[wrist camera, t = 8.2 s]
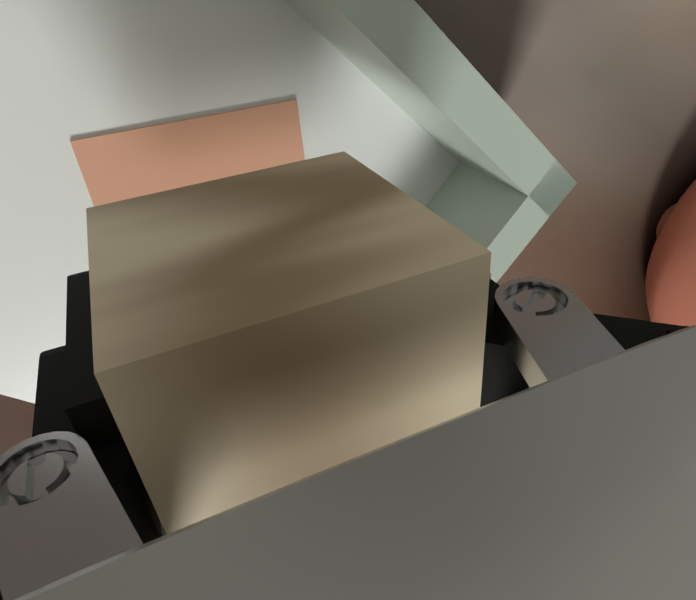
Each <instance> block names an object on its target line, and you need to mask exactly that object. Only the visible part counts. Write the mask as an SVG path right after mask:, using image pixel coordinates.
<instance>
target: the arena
mask: <svg viewBox="0 0 696 600" xmlns="http://www.w3.org/2000/svg"><path fill="white" fill-rule="evenodd" d="M343 151H344V152H346V153H347V154H349V155H350V156H352V157H353V158H355V159H356V160H358V161H359V162H361V163H362V164H363V165H365V166H366V167H368V168H369V169H371V170H372V171H374V172H375V173H377V174H378V175H380V176H381V177H383V178H384V179H385V180H387V181H388V182H390V183H391V184H393V185H394V186H396V187H397V188H399V189H400V190H402V191H403V192H404V193H406V194H407V195H409V196H410V197H412V198H413V199H415V200H416V201H418V202H419V203H421V204H422V205H424V206H425V207H426V208H428V209H429V210H431V211H432V212H434V213H435V214H437V215H438V216H440V217H441V218H443V219H444V220H445V221H447V222H448V223H450V224H451V225H453V226H454V227H456V228H457V229H459V230H460V231H462V232H463V233H465V234H466V235H467V236H469V237H470V238H472V239H473V240H475V241H476V242H478V243H479V244H481V245H482V246H484V247H485V248H486V249H488V250H489V251H491V252H492V253H491V266H490V273H491V278H490V279H492V280H493V281H494V282H496V283H497V281H498V280H499V279H500V278H501V276H502V275H503V274H504V273H505V271H506V270H507V269H508V268H509V266H510V265H511V264H512V263H513V261H514V260H515V259H516V258H517V257H518V255H519V254H520V253H521V252H522V250H523V249H524V248H525V247H526V245H527V244H528V243H529V242H530V240H531V239H532V238H533V237H534V235H535V234H536V233H537V232H538V230H539V229H540V228H541V227H542V225H543V224H544V223H545V222H546V220H547V219H548V218H549V217H550V215H551V214H552V213H553V212H554V210H555V209H556V208H557V207H558V205H559V204H560V203H561V202H562V200H563V199H564V198H565V197H566V195H567V194H568V193H569V192H570V190H571V189H572V188H573V187H574V186H575V184H576V182H575V180H574V179H573V178H572V177H571V176H570V175H569V174H568V173H567V171H566V170H565V169H564V168H563V167H562V166H561V165H560V164H559V162H558V161H557V160H556V159H555V158H554V157H553V156H552V155H551V153H550V152H549V151H548V150H547V149H546V148H545V147H544V145H543V144H542V143H541V142H540V141H539V140H538V139H537V138H536V136H535V135H534V134H533V133H532V132H531V131H530V130H529V129H528V127H527V126H526V125H525V124H524V123H523V122H522V121H521V120H520V118H519V117H518V116H517V115H516V114H515V113H514V112H513V111H512V109H511V108H510V107H509V106H508V105H507V104H506V103H505V102H504V100H503V99H502V98H501V97H500V96H499V95H498V94H497V93H496V91H495V90H494V89H493V88H492V87H491V86H490V85H489V84H488V82H487V81H486V80H485V79H484V78H483V77H482V76H481V75H480V73H479V72H478V71H477V70H476V69H475V68H474V67H473V66H472V64H471V63H470V62H469V61H468V60H467V59H466V58H465V57H464V55H463V54H462V53H461V52H460V51H459V50H458V49H457V48H456V46H455V45H454V44H453V43H452V42H451V41H450V40H449V39H448V37H447V36H446V35H445V34H444V33H443V32H442V31H441V30H440V28H439V27H438V26H437V25H436V24H435V23H434V22H433V21H432V19H431V18H430V17H429V16H428V15H427V14H426V13H425V12H424V10H423V9H422V8H421V7H420V6H419V5H418V4H417V2H416V1H415V0H0V394H2V395H5V396H9V397H13V398H17V399H20V400H24V401H28V402H32V403H35V399H36V388H37V376H38V365H39V357H40V353H41V352H43V351H47V350H50V349H54V348H57V347H61V346H64V345H66V304H67V276H69V275H73V274H77V273H81V272H85V271H88V270H89V261H88V240H87V218H86V208H90V207H94V206H99V205H103V204H108V203H112V202H117V201H121V200H126V199H130V198H135V197H139V196H144V195H148V194H153V193H157V192H162V191H166V190H171V189H176V188H180V187H185V186H189V185H194V184H198V183H203V182H207V181H212V180H216V179H221V178H225V177H230V176H234V175H239V174H243V173H248V172H252V171H257V170H261V169H266V168H270V167H275V166H280V165H284V164H289V163H293V162H298V161H302V160H307V159H311V158H316V157H320V156H325V155H329V154H334V153H338V152H343Z"/></svg>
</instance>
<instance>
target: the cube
mask: <svg viewBox="0 0 696 600" xmlns="http://www.w3.org/2000/svg"><path fill="white" fill-rule="evenodd" d="M86 218H87V240H88V261H89V282H90V303H91V324H92V345H93V366H94V375H95V377H96V379H97V382H98V384H99V386H100V388H101V391H102V393H103V395H104V397H105V399H106V402H107V404H108V406H109V408H110V410H111V413H112V415H113V417H114V419H115V422H116V424H117V426H118V428H119V430H120V433H121V435H122V437H123V439H124V441H125V444H126V446H127V448H128V450H129V453H130V455H131V457H132V459H133V461H134V464H135V466H136V468H137V470H138V472H139V475H140V477H141V479H142V481H143V484H144V486H145V488H146V490H147V492H148V495H149V497H150V499H151V501H152V503H153V506H154V508H155V510H156V512H157V515H158V517H159V519H160V521H161V523H162V526H163V528H164V530H165V532H166V534H169V533H171V532H174V531H176V530H179V529H181V528H184V527H186V526H189V525H191V524H193V523H196V522H198V521H201V520H203V519H206V518H208V517H211V516H213V515H215V514H218V513H220V512H223V511H225V510H228V509H230V508H233V507H235V506H237V505H240V504H242V503H245V502H247V501H250V500H252V499H255V498H257V497H259V496H262V495H264V494H267V493H269V492H272V491H274V490H277V489H279V488H281V487H284V486H286V485H289V484H291V483H294V482H296V481H299V480H301V479H303V478H306V477H308V476H311V475H313V474H316V473H318V472H321V471H323V470H326V469H328V468H331V467H333V466H335V465H338V464H340V463H343V462H345V461H348V460H350V459H353V458H355V457H358V456H360V455H363V454H365V453H368V452H370V451H373V450H375V449H378V448H380V447H383V446H385V445H388V444H390V443H392V442H395V441H397V440H400V439H402V438H405V437H407V436H410V435H412V434H415V433H417V432H420V431H422V430H425V429H427V428H430V427H432V426H435V425H437V424H440V423H442V422H445V421H447V420H450V419H452V418H455V417H457V416H460V415H462V414H465V413H467V412H470V411H472V410H475V409H477V408H480V402H481V389H482V375H483V362H484V348H485V334H486V321H487V307H488V293H489V280H490V266H491V253H492V252H491V251H489V250H488V249H486V248H485V247H484V246H482V245H481V244H479V243H478V242H476V241H475V240H473V239H472V238H470V237H469V236H467V235H466V234H465V233H463V232H462V231H460V230H459V229H457V228H456V227H454V226H453V225H451V224H450V223H448V222H447V221H445V220H444V219H443V218H441V217H440V216H438V215H437V214H435V213H434V212H432V211H431V210H429V209H428V208H426V207H425V206H424V205H422V204H421V203H419V202H418V201H416V200H415V199H413V198H412V197H410V196H409V195H407V194H406V193H404V192H403V191H402V190H400V189H399V188H397V187H396V186H394V185H393V184H391V183H390V182H388V181H387V180H385V179H384V178H383V177H381V176H380V175H378V174H377V173H375V172H374V171H372V170H371V169H369V168H368V167H366V166H365V165H363V164H362V163H361V162H359V161H358V160H356V159H355V158H353V157H352V156H350V155H349V154H347V153H346V152H344V151H343V152H338V153H334V154H329V155H325V156H320V157H316V158H311V159H307V160H302V161H298V162H293V163H289V164H284V165H280V166H275V167H270V168H266V169H261V170H257V171H252V172H248V173H243V174H239V175H234V176H230V177H225V178H221V179H216V180H212V181H207V182H203V183H198V184H194V185H189V186H185V187H180V188H176V189H171V190H166V191H162V192H157V193H153V194H148V195H144V196H139V197H135V198H130V199H126V200H121V201H117V202H112V203H108V204H103V205H99V206H94V207H90V208H86Z"/></svg>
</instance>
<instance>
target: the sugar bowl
mask: <svg viewBox="0 0 696 600" xmlns="http://www.w3.org/2000/svg"><path fill="white" fill-rule="evenodd" d="M656 236H657V239H656V242H655V244H654V247H653V249H652V252H651V256H650V259H649V262H648V267H647V272H646V281H645V293H646V300H647V307H648V311H649V316H650V320H651V322H657V323H665V324H672V325H679V326H689V327H690V326H693V325H695V324H696V179H695V180H694V182H693V183H692V184H691V185H690V186H689V187H688V189H687V190H686V191H685V192H684V194H683V195H682V196H681V198H680V199H679V201H678V202H677V203H676V204H674V205H672V206H671V207H670V208H668V209H667V210H666V211H665V213H664V214H663V215H662V217H661V218H660V220H659V222H658V225H657V228H656Z"/></svg>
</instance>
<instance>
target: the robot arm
mask: <svg viewBox="0 0 696 600" xmlns="http://www.w3.org/2000/svg"><path fill="white" fill-rule="evenodd" d="M490 278H491V273H490ZM0 600H696V324H695V325H693V326H690V327H689V326H679V325H672V324H665V323H657V322H650V321H643V320H636V319H628V318H621V317H614V316H607V315H599V314H592V313H591V311H590V310H589V309H588V308H587V307H586V306H585V305H584V304H583V302H582V301H581V300H580V299H579V298H578V297H577V296H576V295H575V294H574V292H572V291H571V290H570V289H569V288H567V287H566V286H564V285H562V284H560V283H558V282H556V281H552V280H548V279H545V278H536V277H524V278H517V279H512V280H509V281H507V282H505V283H503V284H501V285H498V284H497V283H496V282H494V281H493V280H492V279H490V280H489V293H488V307H487V321H486V334H485V348H484V362H483V375H482V389H481V402H480V408H477V409H475V410H472V411H470V412H467V413H465V414H462V415H460V416H457V417H455V418H452V419H450V420H447V421H445V422H442V423H440V424H437V425H435V426H432V427H430V428H427V429H425V430H422V431H420V432H417V433H415V434H412V435H410V436H407V437H405V438H402V439H400V440H397V441H395V442H392V443H390V444H388V445H385V446H383V447H380V448H378V449H375V450H373V451H370V452H368V453H365V454H363V455H360V456H358V457H355V458H353V459H350V460H348V461H345V462H343V463H340V464H338V465H335V466H333V467H331V468H328V469H326V470H323V471H321V472H318V473H316V474H313V475H311V476H308V477H306V478H303V479H301V480H299V481H296V482H294V483H291V484H289V485H286V486H284V487H281V488H279V489H277V490H274V491H272V492H269V493H267V494H264V495H262V496H259V497H257V498H255V499H252V500H250V501H247V502H245V503H242V504H240V505H237V506H235V507H233V508H230V509H228V510H225V511H223V512H220V513H218V514H215V515H213V516H211V517H208V518H206V519H203V520H201V521H198V522H196V523H193V524H191V525H189V526H186V527H184V528H181V529H179V530H176V531H174V532H171V533H169V534H166V532H165V530H164V528H163V526H162V523H161V521H160V519H159V517H158V515H157V512H156V510H155V508H154V506H153V503H152V501H151V499H150V497H149V495H148V492H147V490H146V488H145V486H144V484H143V481H142V479H141V477H140V475H139V472H138V470H137V468H136V466H135V464H134V461H133V459H132V457H131V455H130V453H129V450H128V448H127V446H126V444H125V441H124V439H123V437H122V435H121V433H120V430H119V428H118V426H117V424H116V422H115V419H114V417H113V415H112V413H111V410H110V408H109V406H108V404H107V402H106V399H105V397H104V395H103V393H102V391H101V388H100V386H99V384H98V382H97V379H96V377H95V375H94V366H93V345H92V324H91V303H90V282H89V270H88V271H85V272H81V273H77V274H73V275H69V276H67V304H66V345H64V346H61V347H57V348H54V349H50V350H47V351H43V352H41V353H40V357H39V365H38V376H37V388H36V399H35V410H34V421H33V433H32V438H29V439H27V440H24V441H22V442H20V443H19V444H17V445H15V446H14V447H12V448H11V449H9V450H7V451H6V452H5V453H3V454H2V455H1V456H0Z"/></svg>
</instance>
